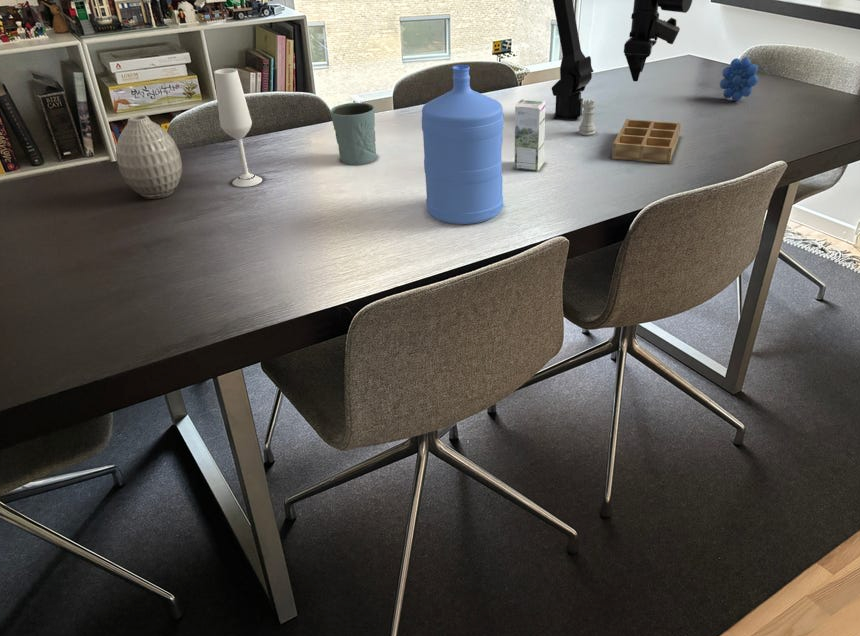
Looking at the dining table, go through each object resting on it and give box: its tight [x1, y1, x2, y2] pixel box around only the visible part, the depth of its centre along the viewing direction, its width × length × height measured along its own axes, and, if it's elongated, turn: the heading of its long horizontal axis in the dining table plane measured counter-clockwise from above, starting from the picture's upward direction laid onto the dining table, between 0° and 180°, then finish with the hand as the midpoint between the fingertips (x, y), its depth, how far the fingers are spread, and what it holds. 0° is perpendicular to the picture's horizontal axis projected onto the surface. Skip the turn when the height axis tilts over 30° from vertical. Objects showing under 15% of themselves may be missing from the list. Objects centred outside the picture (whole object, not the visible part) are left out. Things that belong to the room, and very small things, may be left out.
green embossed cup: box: [330, 102, 377, 166], centre depth 177 cm, size 10×10×12 cm
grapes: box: [719, 56, 759, 102], centre depth 210 cm, size 12×7×12 cm, turn 37°
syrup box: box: [514, 99, 547, 172], centre depth 169 cm, size 6×6×14 cm
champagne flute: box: [213, 67, 263, 188], centre depth 163 cm, size 7×7×24 cm
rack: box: [611, 118, 682, 164], centre depth 181 cm, size 13×20×4 cm
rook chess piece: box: [578, 99, 597, 137], centre depth 190 cm, size 4×4×8 cm
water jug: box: [421, 64, 504, 225], centre depth 145 cm, size 16×16×28 cm
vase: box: [115, 114, 183, 200], centre depth 160 cm, size 13×13×17 cm
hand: (637, 76), depth 187 cm, fingers open, 9 cm apart
